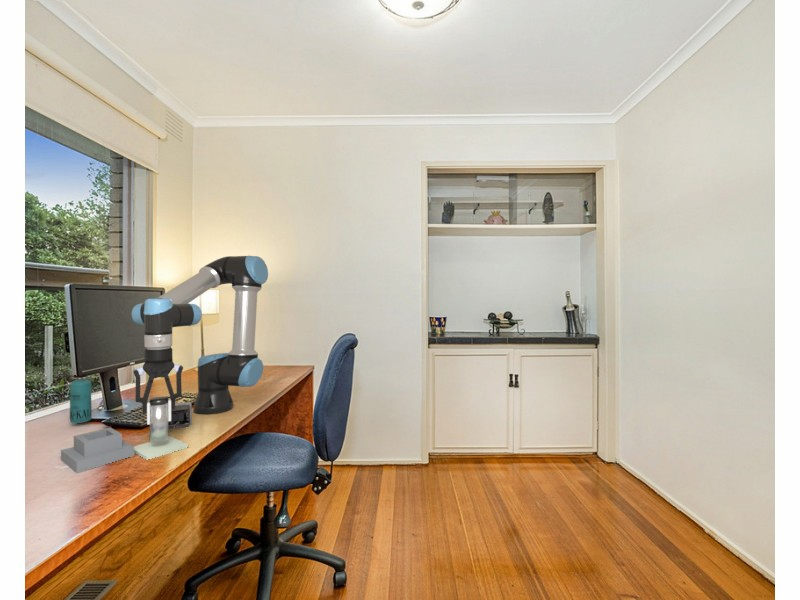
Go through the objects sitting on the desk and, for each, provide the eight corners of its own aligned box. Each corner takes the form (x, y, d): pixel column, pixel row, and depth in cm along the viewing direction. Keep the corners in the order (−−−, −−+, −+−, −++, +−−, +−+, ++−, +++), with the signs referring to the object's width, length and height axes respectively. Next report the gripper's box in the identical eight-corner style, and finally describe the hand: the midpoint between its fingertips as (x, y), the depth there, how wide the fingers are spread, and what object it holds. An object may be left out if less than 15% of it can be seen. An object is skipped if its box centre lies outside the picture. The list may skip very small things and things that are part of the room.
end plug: (164, 435, 130) (163, 395, 130) (171, 439, 127) (171, 398, 127) (147, 440, 126) (146, 398, 126) (154, 443, 123) (153, 401, 123)
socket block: (116, 445, 130) (116, 424, 129) (134, 456, 121) (134, 433, 121) (61, 460, 118) (60, 436, 118) (76, 473, 110) (76, 447, 110)
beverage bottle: (73, 422, 152) (73, 369, 151) (94, 420, 154) (94, 368, 154) (66, 428, 146) (65, 373, 145) (88, 426, 148) (87, 372, 147)
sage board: (170, 439, 135) (170, 436, 135) (188, 447, 128) (188, 444, 128) (130, 450, 126) (130, 447, 126) (146, 460, 118) (146, 457, 118)
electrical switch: (192, 424, 151) (191, 400, 150) (191, 429, 146) (190, 405, 145) (163, 427, 147) (162, 402, 146) (161, 433, 143) (160, 408, 142)
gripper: (123, 351, 118) (124, 430, 119) (192, 347, 128) (192, 420, 129) (124, 348, 124) (124, 423, 125) (189, 344, 134) (189, 414, 135)
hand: (159, 421), depth 127 cm, fingers closed on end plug, 5 cm apart
